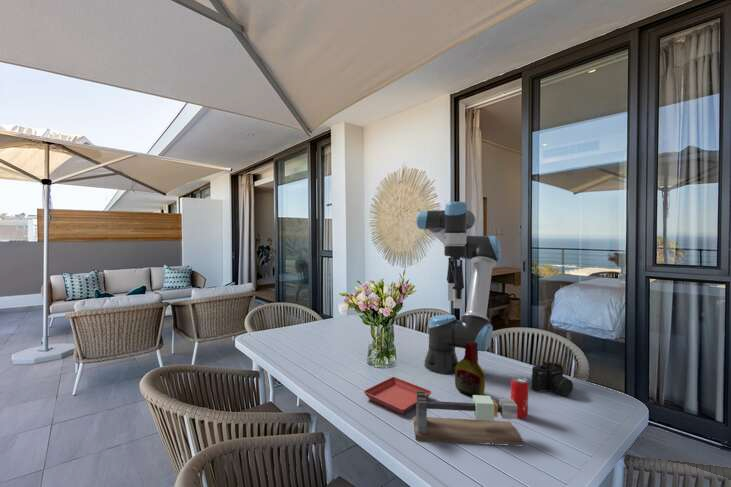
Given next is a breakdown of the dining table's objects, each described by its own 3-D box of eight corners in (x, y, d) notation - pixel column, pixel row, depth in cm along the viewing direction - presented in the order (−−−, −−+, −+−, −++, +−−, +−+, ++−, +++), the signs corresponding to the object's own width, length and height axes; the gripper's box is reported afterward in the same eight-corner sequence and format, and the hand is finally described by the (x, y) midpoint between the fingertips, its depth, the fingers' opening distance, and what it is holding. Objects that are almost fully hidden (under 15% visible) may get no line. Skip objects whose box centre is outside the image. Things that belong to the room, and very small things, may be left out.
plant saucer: (432, 399, 123) (432, 390, 123) (403, 419, 110) (403, 409, 109) (393, 384, 135) (393, 376, 135) (362, 400, 122) (362, 391, 122)
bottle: (488, 397, 124) (489, 343, 124) (478, 402, 120) (479, 347, 120) (461, 385, 134) (462, 335, 133) (451, 390, 130) (452, 338, 129)
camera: (550, 400, 122) (551, 373, 122) (527, 387, 133) (528, 362, 132) (579, 395, 127) (580, 368, 126) (555, 383, 137) (556, 358, 137)
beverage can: (512, 409, 115) (513, 375, 115) (529, 414, 112) (530, 379, 112) (508, 415, 111) (509, 380, 111) (525, 421, 108) (525, 384, 108)
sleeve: (472, 411, 104) (472, 395, 104) (489, 411, 103) (489, 395, 103) (476, 419, 99) (476, 403, 99) (494, 420, 98) (494, 404, 98)
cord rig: (413, 420, 108) (414, 388, 108) (510, 426, 105) (511, 393, 105) (415, 439, 98) (415, 404, 98) (522, 446, 95) (523, 409, 95)
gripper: (440, 244, 134) (439, 297, 134) (450, 246, 109) (449, 311, 110) (459, 244, 133) (458, 297, 134) (474, 246, 108) (472, 312, 109)
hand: (454, 304), depth 122 cm, fingers open, 13 cm apart
